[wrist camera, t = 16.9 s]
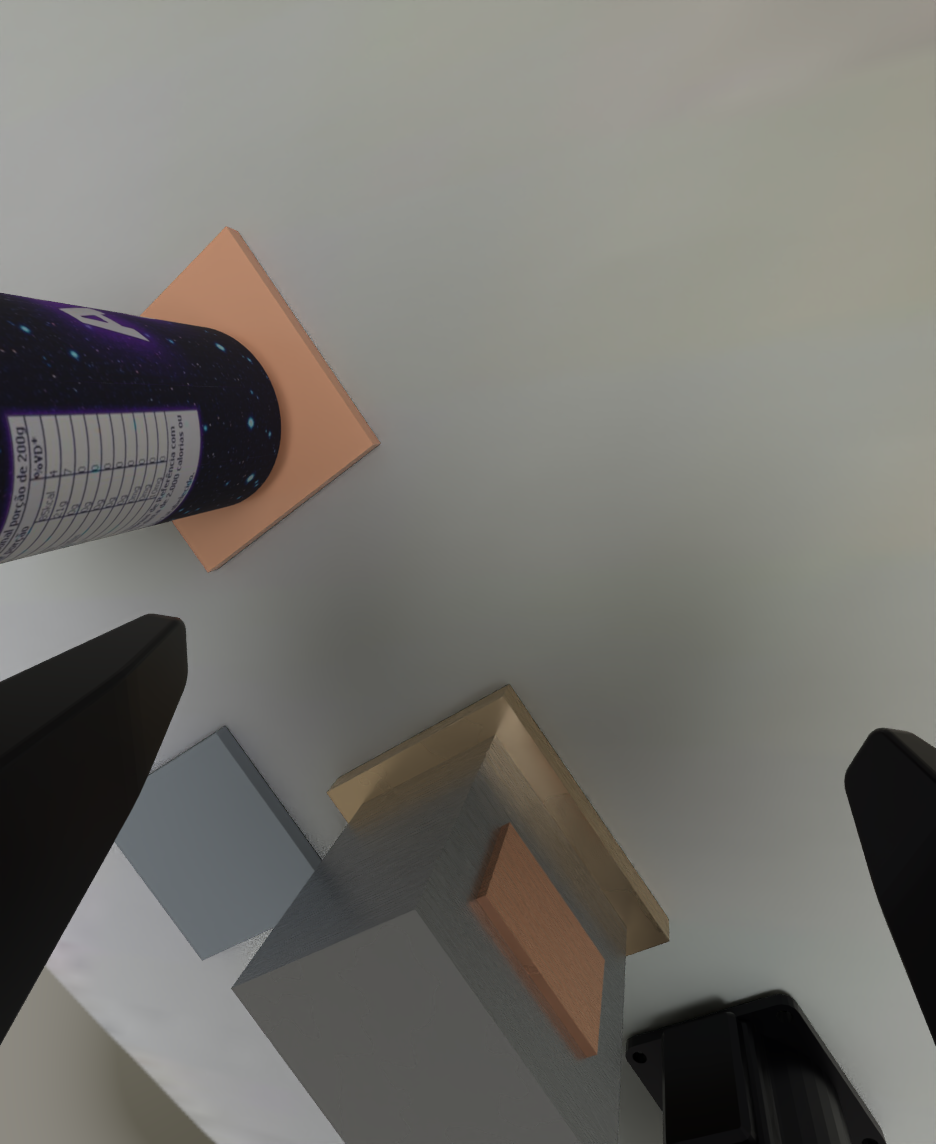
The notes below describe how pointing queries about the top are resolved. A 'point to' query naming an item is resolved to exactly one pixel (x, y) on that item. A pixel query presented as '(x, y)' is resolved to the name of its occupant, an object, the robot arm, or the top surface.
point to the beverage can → (122, 423)
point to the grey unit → (460, 946)
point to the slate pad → (216, 846)
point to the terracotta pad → (300, 380)
